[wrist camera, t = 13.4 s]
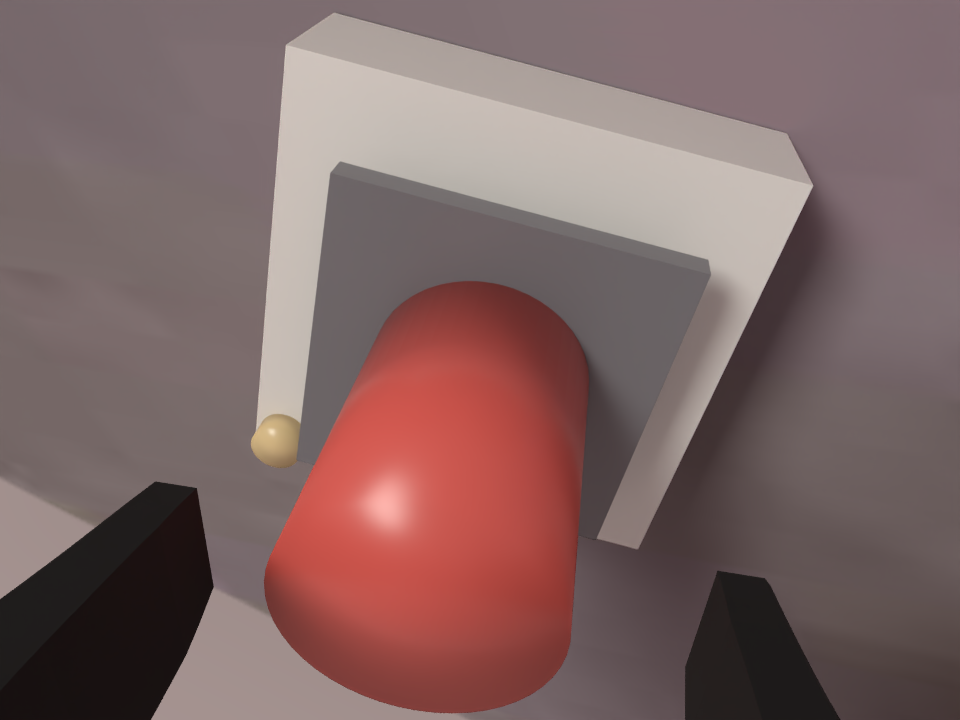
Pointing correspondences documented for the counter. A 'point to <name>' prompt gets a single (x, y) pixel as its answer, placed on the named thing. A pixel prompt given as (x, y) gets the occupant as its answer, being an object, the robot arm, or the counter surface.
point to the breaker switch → (509, 262)
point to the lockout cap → (444, 508)
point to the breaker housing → (524, 201)
